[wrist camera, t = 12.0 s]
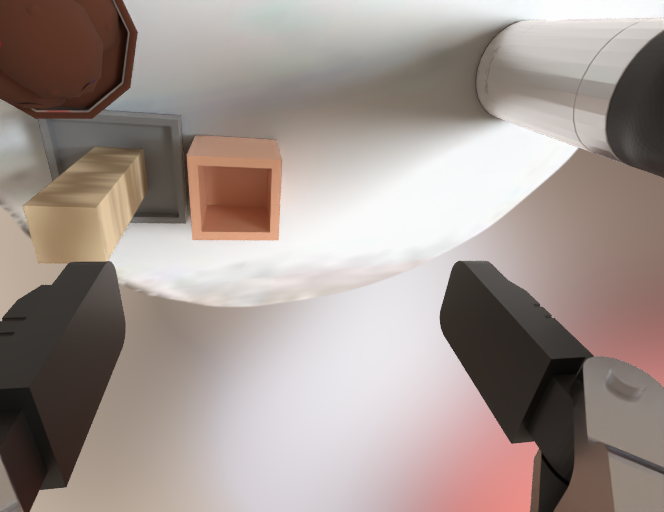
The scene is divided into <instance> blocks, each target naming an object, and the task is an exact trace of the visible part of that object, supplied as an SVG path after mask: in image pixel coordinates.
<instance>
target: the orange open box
mask: <svg viewBox="0 0 664 512" xmlns="http://www.w3.org/2000/svg"><path fill="white" fill-rule="evenodd" d="M187 167H188V181H189V195H190V209H191V223H192V237H193V240H278V239H279V216H280V192H281V169H282V158H281V155H280V152H279V148H278V145H277V141H276V140H274V139H257V138H239V137H222V136H205V135H195V137H194V139H193V142H192V144H191V146H190V149H189V151H188V153H187Z"/></svg>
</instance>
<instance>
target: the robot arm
mask: <svg viewBox="0 0 664 512" xmlns="http://www.w3.org/2000/svg"><path fill="white" fill-rule="evenodd" d="M476 89H477V93H478V98H479V100H480V102H481V104H482V106H483V107H484V108H485V110H486V111H487V112H488V113H490V114H491V115H493V116H494V117H497V118H500V119H503V120H505V121H508V122H511V123H513V124H516V125H518V126H521V127H524V128H526V129H529V130H532V131H535V132H537V133H540V134H543V135H546V136H548V137H551V138H554V139H557V140H559V141H562V142H565V143H568V144H570V145H573V146H576V147H579V148H582V149H585V150H587V151H590V152H593V153H595V154H599V155H602V156H604V157H607V158H610V159H612V160H615V161H618V162H621V163H623V164H626V165H629V166H632V167H635V168H638V169H641V170H644V171H647V172H650V173H652V174H655V175H658V176H661V177H663V178H664V18H634V19H568V20H557V19H556V20H526V21H520V22H517V23H514V24H512V25H510V26H508V27H507V28H505V29H504V30H502V31H501V32H500V33H499V34H498V35H497V36H496V37H495V38H494V39H493V40H492V41H491V43H490V44H489V45H488V47H487V48H486V50H485V52H484V54H483V56H482V58H481V61H480V64H479V67H478V71H477V77H476ZM551 316H552V315H551V314H550V313H549V312H548V311H546V310H545V309H544V308H543V307H540V304H539V303H538V302H537V301H536V300H535V299H534V298H533V297H532V296H531V295H530V294H529V293H528V292H527V291H525V290H524V289H522V288H520V287H519V286H517V285H515V284H514V283H512V282H510V281H508V280H507V279H506V278H505V277H504V276H503V275H502V274H501V273H500V272H499V271H498V270H497V269H496V268H495V267H494V266H493V265H492V264H491V263H490V262H488V261H458V262H456V263H455V264H454V266H453V268H452V271H451V274H450V278H449V282H448V286H447V289H446V292H445V296H444V300H443V304H442V307H441V311H440V325H441V329H442V332H443V335H444V336H445V338H446V340H447V341H448V343H449V344H450V346H451V348H452V349H453V351H454V352H455V354H456V355H457V357H458V359H459V360H460V362H461V363H462V365H463V367H464V368H465V370H466V372H467V373H468V375H469V376H470V378H471V380H472V381H473V383H474V384H475V386H476V388H477V389H478V391H479V392H480V394H481V396H482V397H483V399H484V400H485V402H486V404H487V405H488V407H489V409H490V410H491V412H492V413H493V415H494V417H495V418H496V420H497V421H498V423H499V425H500V426H501V428H502V429H503V431H504V433H505V434H506V436H507V437H508V439H509V441H510V442H511V443H512V444H513V443H522V442H532V441H535V443H536V444H537V446H538V447H539V449H538V451H537V454H536V455H535V457H534V465H533V479H532V492H531V506H530V512H664V387H663V386H662V385H661V384H660V383H658V381H656V380H655V379H654V378H653V377H651V376H650V375H649V374H647V373H646V372H644V371H643V370H641V369H639V368H637V367H635V366H633V365H631V364H629V363H627V362H624V361H621V360H618V359H615V358H610V357H602V356H596V357H594V356H593V355H592V354H591V353H590V352H589V351H588V350H587V349H586V348H585V347H584V346H583V345H582V344H581V343H580V342H579V341H578V340H577V339H576V338H575V337H574V336H573V335H571V334H570V333H569V332H568V331H567V330H566V329H565V328H564V327H563V326H562V325H561V324H560V323H559V322H558V321H557V320H556V319H555V318H552V317H551ZM124 339H125V317H124V312H123V306H122V301H121V296H120V290H119V285H118V280H117V275H116V270H115V267H114V265H113V263H112V262H110V261H91V262H70V263H69V264H68V265H67V266H66V267H65V269H64V270H63V271H62V272H61V274H60V275H59V276H58V278H57V279H56V280H55V282H54V283H53V284H52V285H41V286H40V287H38V288H37V289H35V290H33V291H31V292H30V293H28V294H27V295H25V296H23V297H22V298H20V299H18V300H17V301H16V303H15V304H14V305H13V306H12V307H11V308H10V309H9V311H8V312H7V313H6V314H5V315H4V316H3V318H2V321H0V512H30V509H31V507H32V505H33V503H34V501H35V498H36V496H37V494H38V492H39V490H44V489H54V488H64V487H67V484H68V482H69V479H70V477H71V474H72V472H73V469H74V466H75V464H76V461H77V459H78V457H79V454H80V452H81V449H82V447H83V444H84V442H85V439H86V437H87V434H88V432H89V429H90V427H91V424H92V422H93V419H94V417H95V415H96V412H97V410H98V407H99V404H100V402H101V400H102V397H103V395H104V392H105V390H106V387H107V385H108V382H109V380H110V377H111V375H112V372H113V370H114V367H115V365H116V362H117V360H118V357H119V355H120V352H121V350H122V347H123V344H124Z"/></svg>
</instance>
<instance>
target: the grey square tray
mask: <svg viewBox="0 0 664 512" xmlns="http://www.w3.org/2000/svg"><path fill="white" fill-rule="evenodd" d="M38 121H39V125H40V130H41V134H42V138H43V142H44V146H45V151H46V155H47V159H48V163H49V167H50V172H51V176H52V180H53V181H54V180H55V179H56V178H57V177H59V176H60V175H61V174H62V173H63V172H65V171H66V170H67V169H68V168H70V167H71V166H72V165H73V164H74V163H76V162H77V161H78V160H79V159H81V158H82V157H83V156H84V155H85V154H87V153H88V152H89V151H90V150H92V149H93V148H94V147H95V146H98V147H116V148H133V149H143V150H144V159H145V167H146V176H147V185H148V191H147V193H146V195H145V197H144V198H143V200H142V202H141V204H140V205H139V207H138V209H137V211H136V212H135V214H134V216H133V218H132V219H131V221H130V223H186V221H187V218H188V207H187V193H186V180H185V166H184V153H183V140H182V126H181V115H167V114H152V113H137V112H122V111H107V110H102V111H101V112H100V113H99V114H98V115H96V116H95V117H94V118H93V119H38Z"/></svg>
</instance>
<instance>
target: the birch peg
mask: <svg viewBox="0 0 664 512" xmlns="http://www.w3.org/2000/svg"><path fill="white" fill-rule="evenodd" d="M147 191H148V185H147V176H146V167H145V159H144V150H143V149H133V148H116V147H98V146H95V147H94V148H93V149H92V150H90V151H89V152H88V153H87V154H85V155H84V156H83V157H82V158H81V159H79V160H78V161H77V162H76V163H74V164H73V165H72V166H71V167H70V168H68V169H67V170H66V171H65V172H63V173H62V174H61V175H60V176H59V177H57V178H56V179H55V180H54V181H52V182H51V183H50V184H49V185H48V186H46V187H45V188H44V189H43V190H41V191H40V192H39V193H38V194H37V195H35V196H34V197H33V198H32V199H31V200H29V201H28V202H27V203H26V204H24V205H23V208H24V212H25V216H26V219H27V223H28V227H29V230H30V234H31V238H32V241H33V245H34V248H35V252H36V256H37V260H38V263H70V262H91V261H108V259H109V258H110V256H111V254H112V252H113V251H114V249H115V247H116V245H117V244H118V242H119V240H120V238H121V237H122V235H123V233H124V231H125V230H126V228H127V226H128V225H129V223H130V221H131V219H132V218H133V216H134V214H135V212H136V211H137V209H138V207H139V205H140V204H141V202H142V200H143V198H144V197H145V195H146V193H147Z"/></svg>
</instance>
